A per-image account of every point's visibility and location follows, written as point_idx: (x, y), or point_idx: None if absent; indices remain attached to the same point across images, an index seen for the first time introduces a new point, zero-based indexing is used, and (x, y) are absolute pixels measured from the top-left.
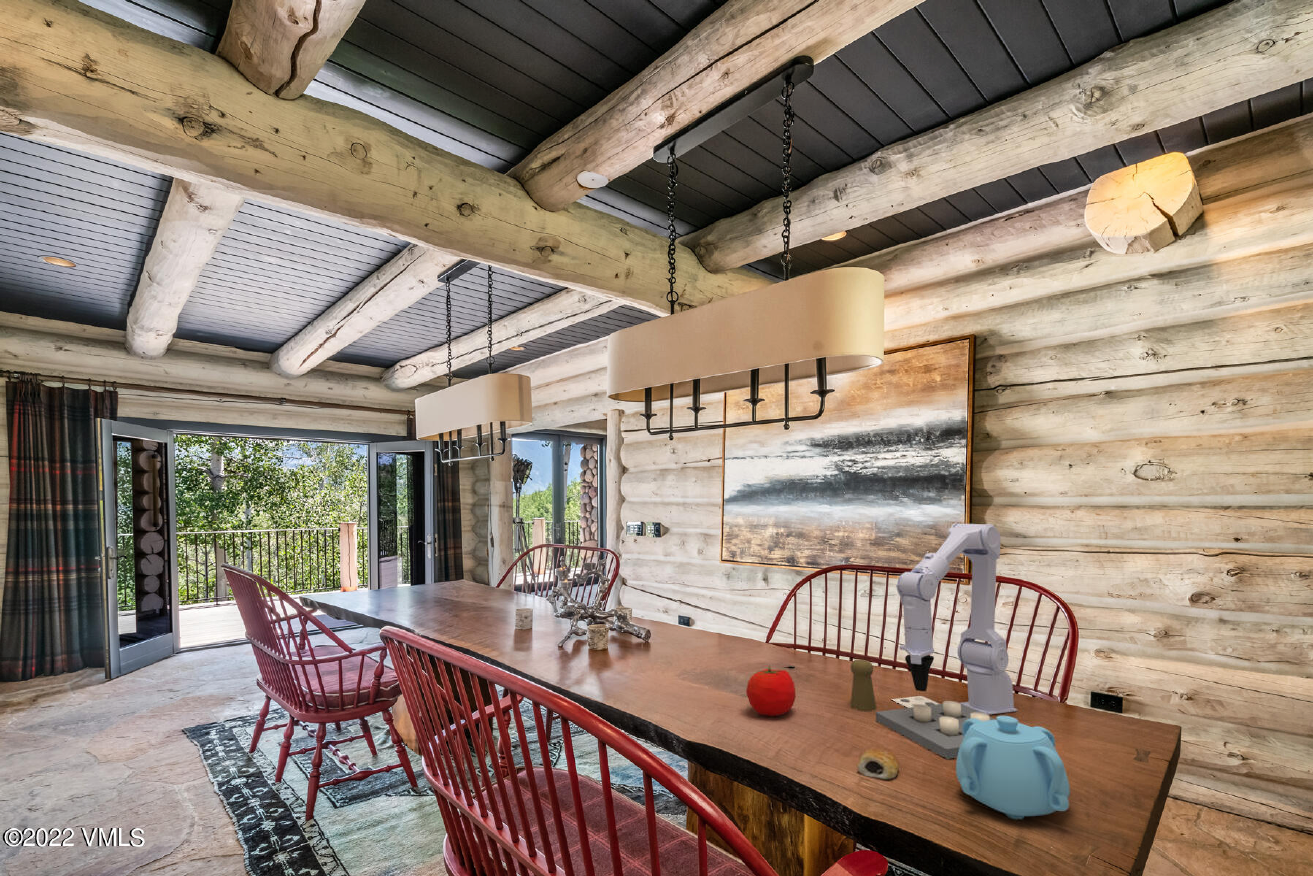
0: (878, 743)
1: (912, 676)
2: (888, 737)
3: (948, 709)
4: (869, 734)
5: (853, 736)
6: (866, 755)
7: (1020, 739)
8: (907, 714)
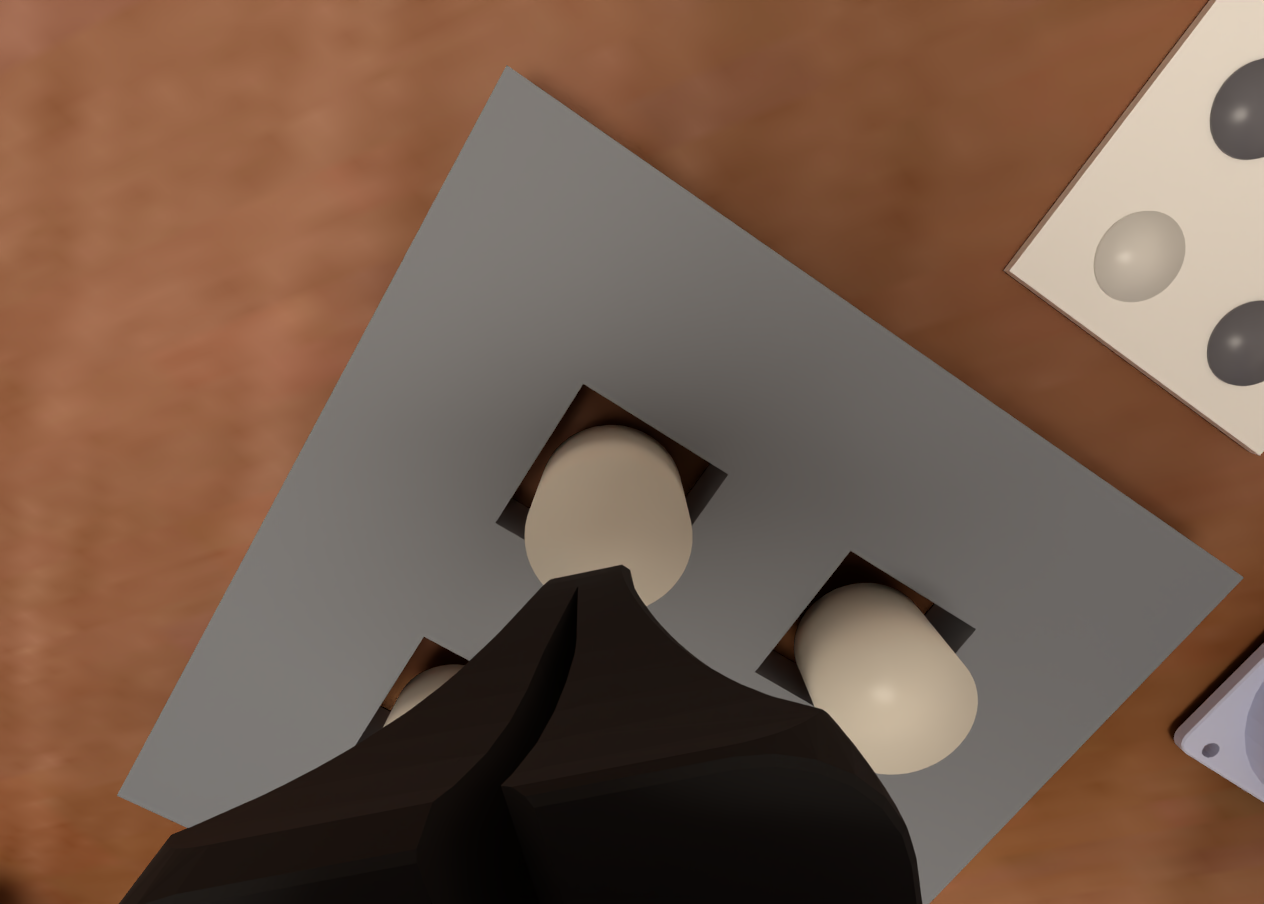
0: (53, 312)
1: (462, 669)
2: (232, 327)
3: (814, 677)
4: (170, 173)
5: (13, 74)
6: None
7: None
8: (641, 357)
